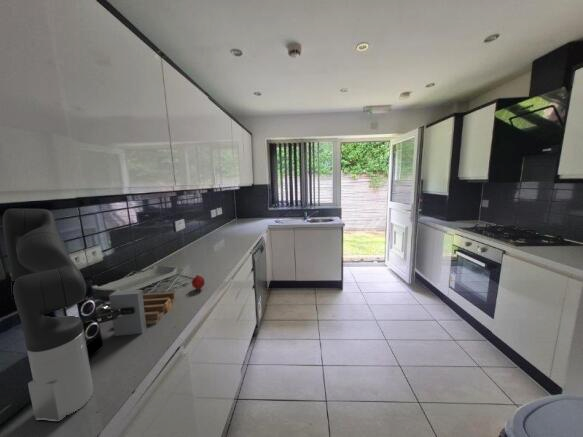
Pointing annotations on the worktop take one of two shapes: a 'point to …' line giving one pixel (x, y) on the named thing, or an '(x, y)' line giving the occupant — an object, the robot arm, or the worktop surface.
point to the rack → (157, 305)
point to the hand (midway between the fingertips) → (136, 307)
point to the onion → (198, 282)
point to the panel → (132, 321)
